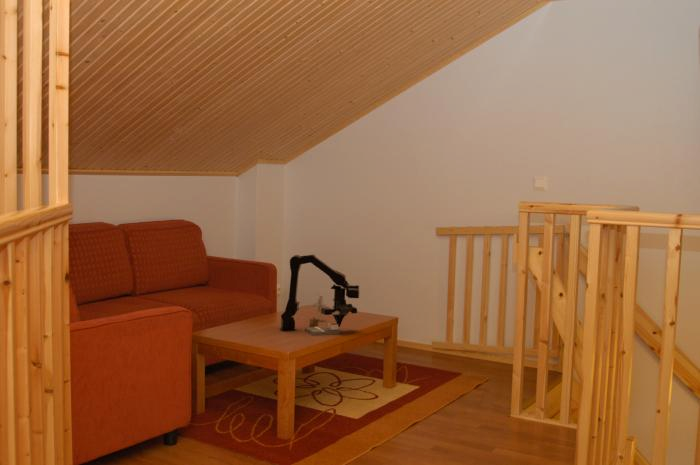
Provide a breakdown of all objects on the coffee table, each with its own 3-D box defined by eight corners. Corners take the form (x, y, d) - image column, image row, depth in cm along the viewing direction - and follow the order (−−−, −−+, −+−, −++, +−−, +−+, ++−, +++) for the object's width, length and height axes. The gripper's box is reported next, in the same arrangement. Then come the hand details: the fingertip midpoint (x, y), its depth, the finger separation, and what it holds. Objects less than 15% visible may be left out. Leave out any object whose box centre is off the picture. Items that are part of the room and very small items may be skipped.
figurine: (330, 321, 440) (331, 295, 439) (326, 322, 437) (327, 296, 435) (313, 319, 446) (313, 293, 444) (309, 320, 442) (310, 294, 441)
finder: (331, 329, 409) (331, 324, 409) (327, 327, 414) (327, 322, 413) (338, 329, 411) (338, 324, 411) (334, 327, 415) (334, 322, 415)
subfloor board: (313, 335, 404) (313, 331, 404) (304, 330, 415) (304, 327, 415) (339, 333, 410) (339, 330, 410) (331, 328, 421) (331, 325, 421)
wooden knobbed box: (311, 328, 420) (312, 317, 420) (309, 327, 423) (309, 316, 423) (318, 328, 422) (318, 317, 421) (315, 326, 425) (315, 316, 424)
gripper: (329, 301, 401) (328, 330, 403) (362, 299, 409) (361, 328, 410) (320, 297, 411) (320, 326, 413) (353, 295, 419) (352, 324, 420)
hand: (338, 326), depth 414 cm, fingers closed
